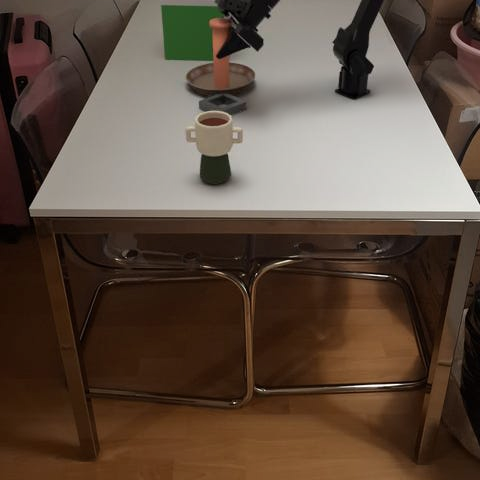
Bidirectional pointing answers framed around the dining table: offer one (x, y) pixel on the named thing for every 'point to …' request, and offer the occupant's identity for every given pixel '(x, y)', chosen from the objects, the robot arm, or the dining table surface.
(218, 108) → the collar
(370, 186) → the dining table surface
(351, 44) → the robot arm
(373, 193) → the dining table surface
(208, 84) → the plant saucer
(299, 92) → the dining table surface
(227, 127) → the cream and green cup
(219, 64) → the stop pin
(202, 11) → the hardback book
